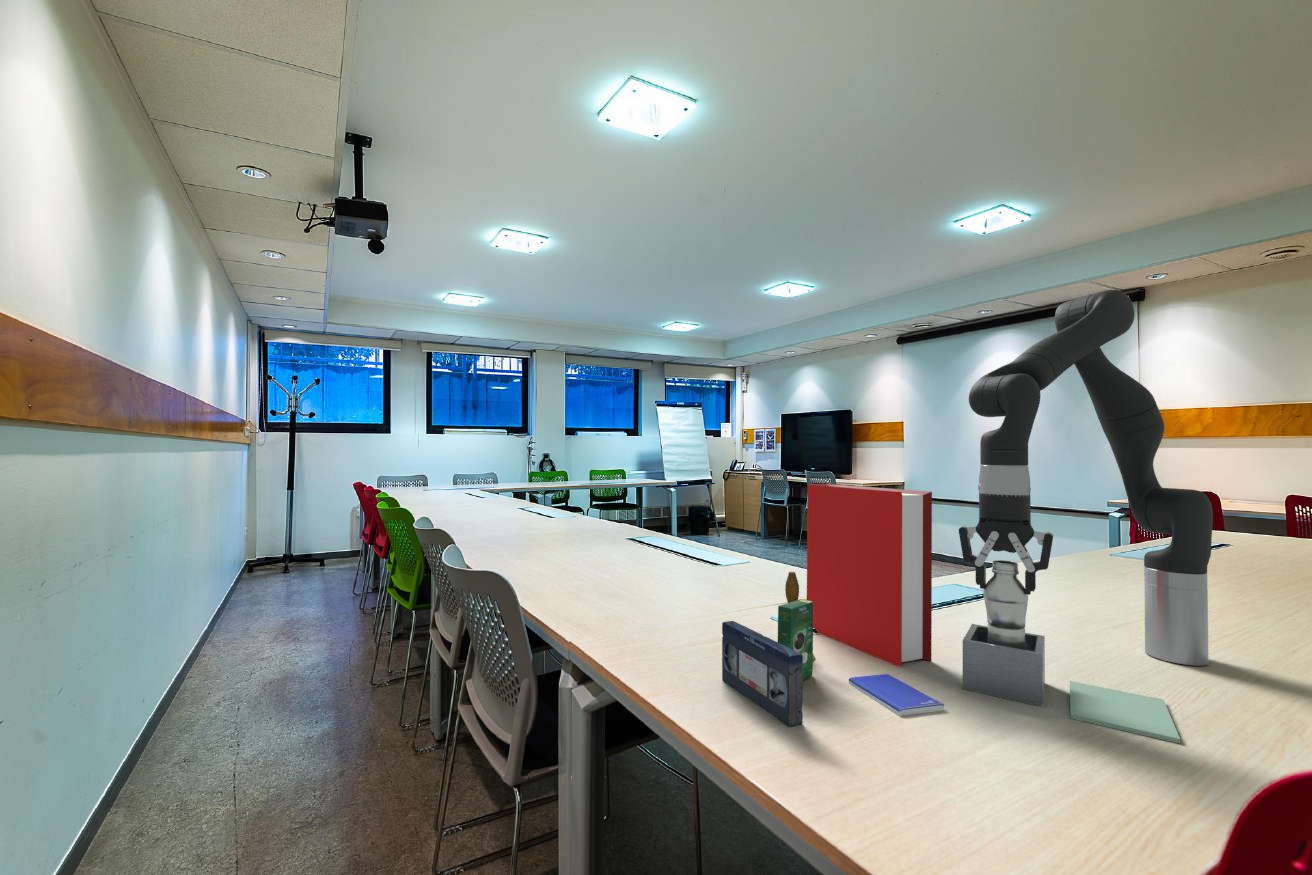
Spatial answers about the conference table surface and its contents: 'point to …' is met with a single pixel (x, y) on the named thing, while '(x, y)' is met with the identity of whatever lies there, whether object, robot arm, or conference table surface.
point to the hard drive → (895, 694)
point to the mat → (1122, 711)
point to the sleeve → (1004, 667)
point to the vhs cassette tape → (763, 672)
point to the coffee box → (797, 631)
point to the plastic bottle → (1006, 606)
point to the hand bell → (792, 589)
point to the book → (871, 569)
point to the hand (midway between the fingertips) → (1004, 590)
